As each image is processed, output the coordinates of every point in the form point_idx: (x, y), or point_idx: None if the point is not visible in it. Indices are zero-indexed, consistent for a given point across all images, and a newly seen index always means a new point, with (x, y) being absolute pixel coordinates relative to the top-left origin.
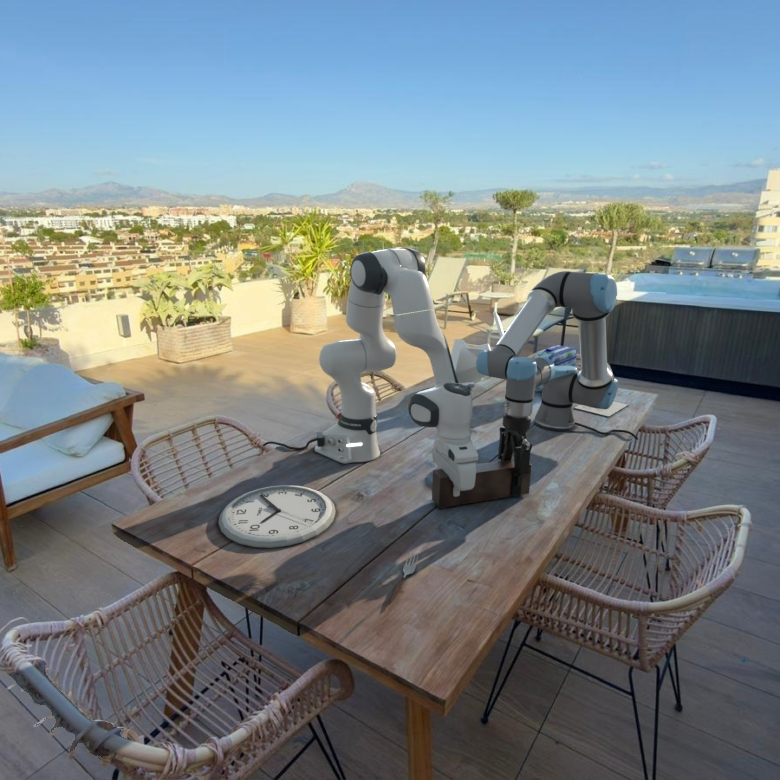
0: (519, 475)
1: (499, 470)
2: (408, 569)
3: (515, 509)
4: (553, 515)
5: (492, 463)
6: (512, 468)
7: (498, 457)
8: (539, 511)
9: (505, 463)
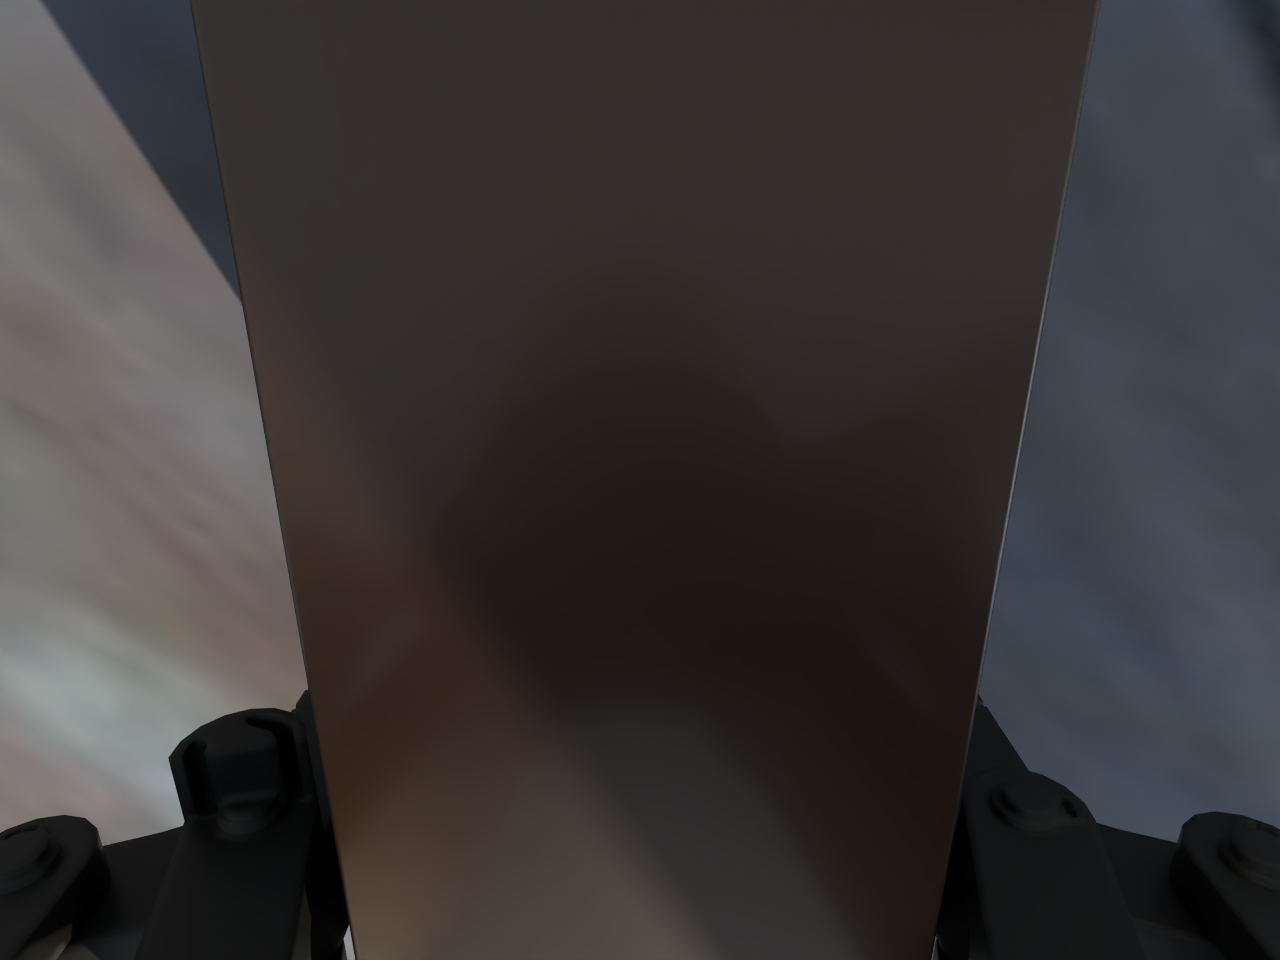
0: (39, 830)
1: (276, 390)
2: None
3: (209, 399)
4: (28, 750)
5: (886, 406)
6: (349, 859)
7: (1272, 851)
8: (130, 657)
9: (706, 834)
